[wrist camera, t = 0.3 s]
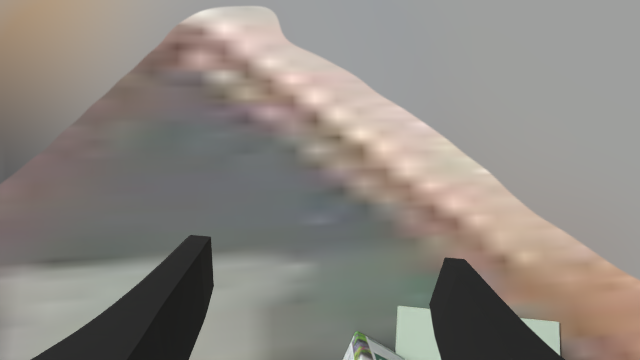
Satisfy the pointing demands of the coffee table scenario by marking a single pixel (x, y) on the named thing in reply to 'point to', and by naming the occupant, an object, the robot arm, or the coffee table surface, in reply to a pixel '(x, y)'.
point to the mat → (420, 341)
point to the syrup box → (368, 350)
